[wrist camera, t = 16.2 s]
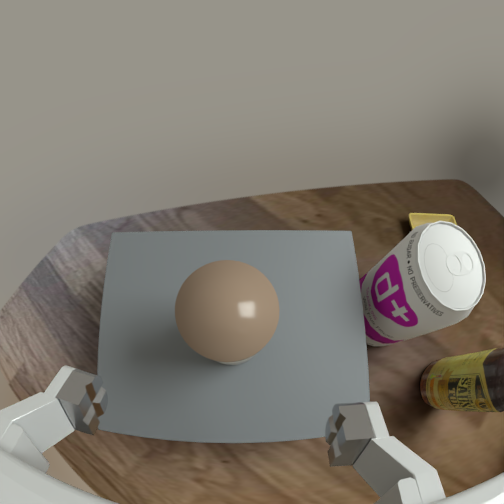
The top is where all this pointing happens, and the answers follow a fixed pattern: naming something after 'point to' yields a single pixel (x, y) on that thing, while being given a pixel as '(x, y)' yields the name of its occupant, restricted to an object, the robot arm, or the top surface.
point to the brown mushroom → (227, 311)
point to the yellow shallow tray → (428, 219)
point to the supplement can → (422, 284)
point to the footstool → (221, 375)
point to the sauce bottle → (466, 382)
